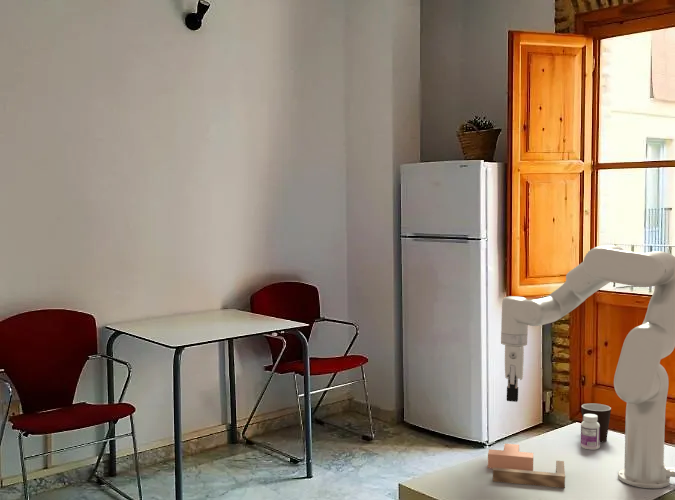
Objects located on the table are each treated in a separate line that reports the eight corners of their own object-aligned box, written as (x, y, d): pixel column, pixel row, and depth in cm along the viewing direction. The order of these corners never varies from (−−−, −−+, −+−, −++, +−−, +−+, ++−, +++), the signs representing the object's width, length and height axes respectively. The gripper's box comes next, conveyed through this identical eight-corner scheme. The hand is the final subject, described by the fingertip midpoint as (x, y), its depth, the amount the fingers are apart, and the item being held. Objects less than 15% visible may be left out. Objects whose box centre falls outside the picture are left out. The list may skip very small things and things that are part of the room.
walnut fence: (563, 472, 207) (563, 461, 207) (564, 488, 195) (565, 476, 195) (495, 466, 212) (495, 455, 211) (492, 481, 200) (492, 470, 200)
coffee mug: (612, 444, 231) (613, 411, 230) (582, 442, 232) (583, 410, 232) (606, 433, 242) (607, 401, 241) (578, 431, 244) (579, 400, 243)
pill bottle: (586, 443, 232) (587, 411, 231) (602, 447, 228) (603, 415, 227) (577, 447, 228) (577, 415, 228) (593, 451, 224) (594, 418, 224)
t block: (533, 459, 217) (533, 445, 216) (533, 472, 207) (533, 457, 207) (490, 456, 220) (490, 442, 220) (487, 468, 210) (487, 454, 210)
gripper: (526, 344, 216) (524, 408, 217) (527, 335, 230) (526, 395, 232) (499, 342, 218) (497, 406, 219) (502, 333, 232) (500, 393, 234)
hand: (512, 400), depth 225 cm, fingers closed
